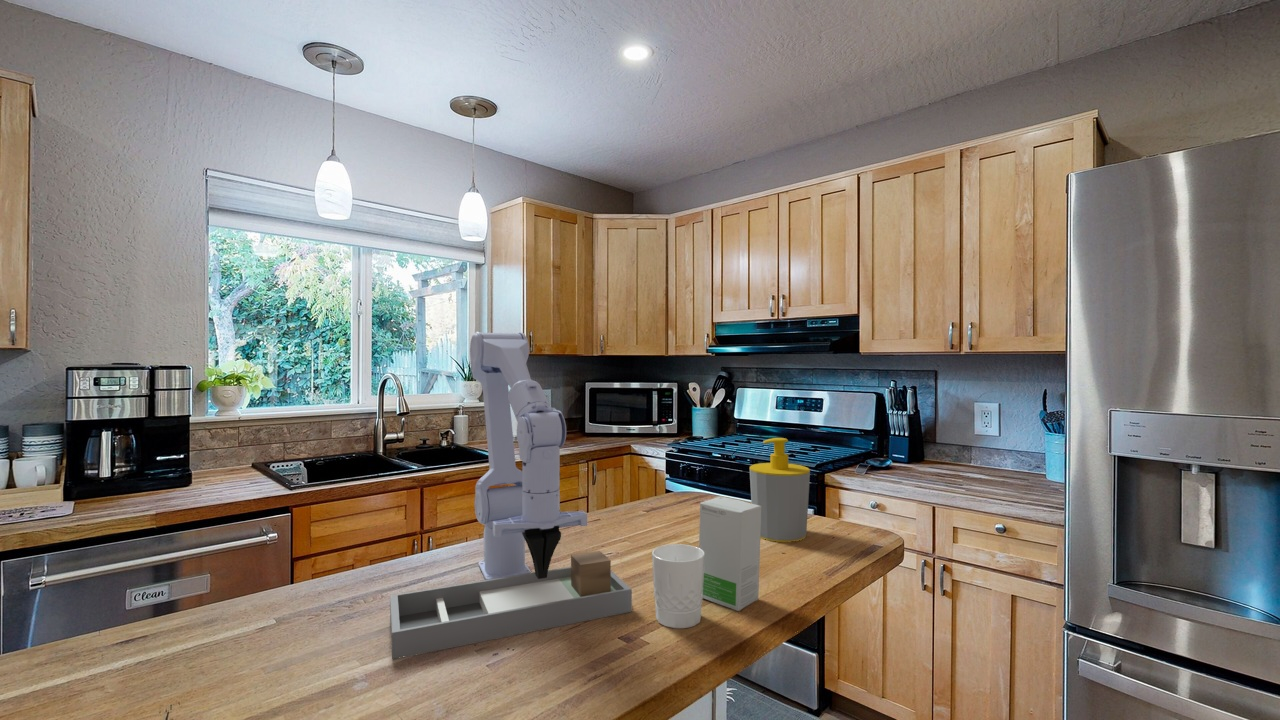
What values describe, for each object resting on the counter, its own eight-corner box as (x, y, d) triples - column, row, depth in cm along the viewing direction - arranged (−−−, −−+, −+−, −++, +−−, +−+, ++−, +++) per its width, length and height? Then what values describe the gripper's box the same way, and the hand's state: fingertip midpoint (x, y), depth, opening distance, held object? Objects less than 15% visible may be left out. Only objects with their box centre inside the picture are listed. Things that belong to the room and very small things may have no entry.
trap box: (390, 618, 87) (390, 595, 87) (602, 581, 101) (602, 561, 101) (392, 659, 75) (392, 632, 75) (631, 611, 89) (631, 589, 89)
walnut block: (571, 585, 94) (571, 554, 94) (599, 580, 96) (599, 550, 96) (580, 596, 90) (580, 564, 90) (610, 591, 92) (610, 560, 92)
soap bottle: (742, 526, 134) (742, 435, 134) (796, 524, 135) (796, 434, 135) (760, 544, 121) (760, 443, 121) (819, 542, 122) (819, 442, 122)
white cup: (702, 633, 82) (702, 563, 82) (647, 628, 84) (647, 559, 84) (706, 609, 90) (706, 545, 90) (657, 605, 91) (657, 542, 91)
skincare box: (696, 597, 94) (696, 502, 94) (719, 585, 99) (719, 495, 99) (740, 612, 89) (740, 511, 89) (762, 599, 94) (762, 503, 94)
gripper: (498, 500, 83) (498, 593, 83) (593, 490, 89) (593, 577, 89) (490, 489, 90) (490, 576, 90) (579, 481, 95) (579, 562, 96)
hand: (541, 576), depth 90 cm, fingers closed
